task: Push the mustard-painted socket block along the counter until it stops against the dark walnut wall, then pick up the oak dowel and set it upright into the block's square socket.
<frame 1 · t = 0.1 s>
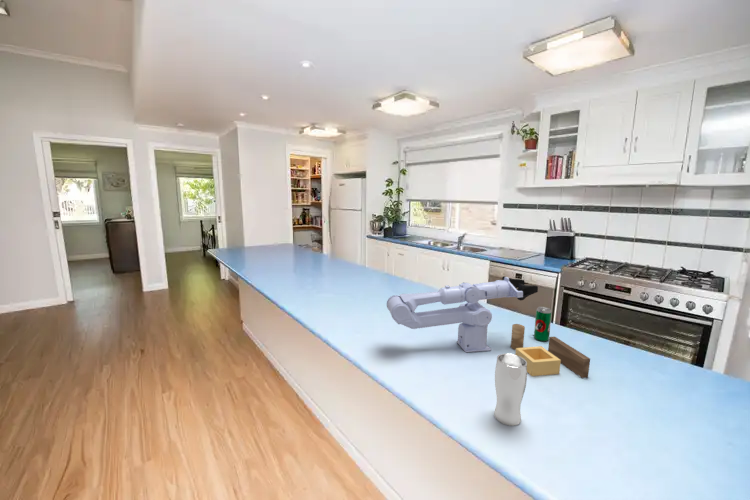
hand: (530, 285, 114), 22 cm above the worktop, tool horizontal, fingers open, 7 cm apart
socket block: (536, 360, 101), point 2 cm above the worktop, slide at 0.0 cm
soda can: (541, 339, 121), on the worktop
walnut wall: (566, 364, 103), on the worktop
beer glass: (507, 418, 79), on the worktop
dowel: (516, 347, 114), on the worktop
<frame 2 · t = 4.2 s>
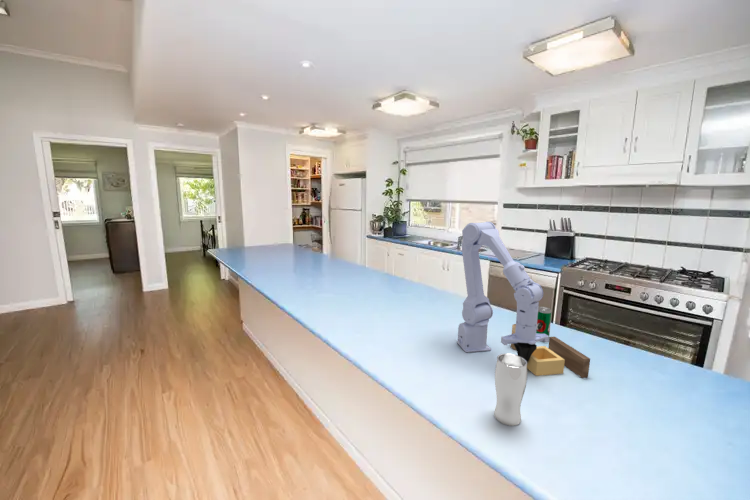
hand: (522, 364, 100), 1 cm above the worktop, tool pointing down, fingers closed
socket block: (540, 360, 101), point 2 cm above the worktop, slide at 1.3 cm, touching gripper
everything else where it was.
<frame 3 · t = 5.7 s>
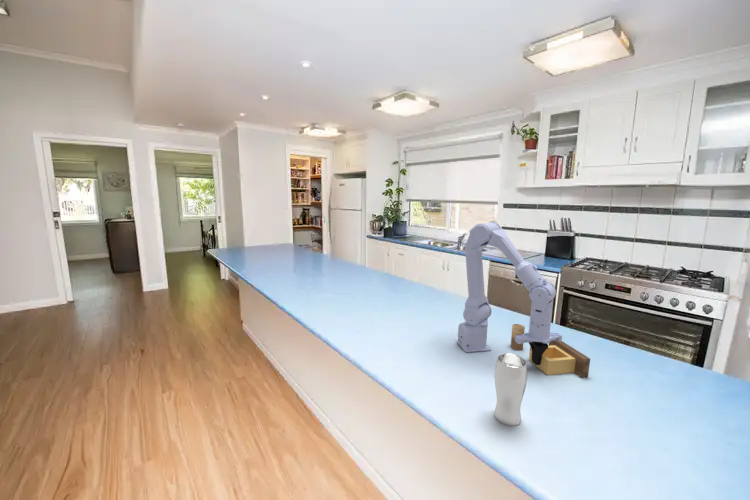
hand: (536, 363, 101), 1 cm above the worktop, tool pointing down, fingers closed, pressing on socket block
socket block: (551, 359, 101), point 2 cm above the worktop, slide at 5.0 cm, touching gripper, walnut wall
everything else where it was.
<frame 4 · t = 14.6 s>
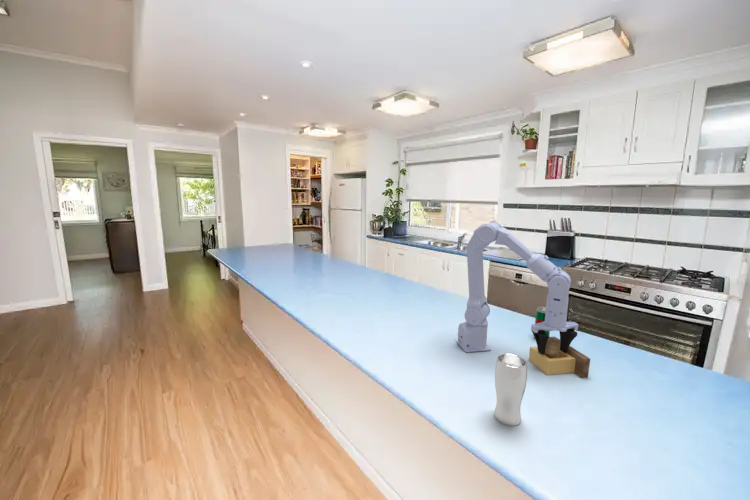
hand: (552, 352, 101), 5 cm above the worktop, tool pointing down, fingers open, 7 cm apart
socket block: (551, 359, 101), point 2 cm above the worktop, slide at 5.0 cm, touching dowel
dowel: (550, 364, 102), point 1 cm above the worktop, touching socket block
everything else where it was.
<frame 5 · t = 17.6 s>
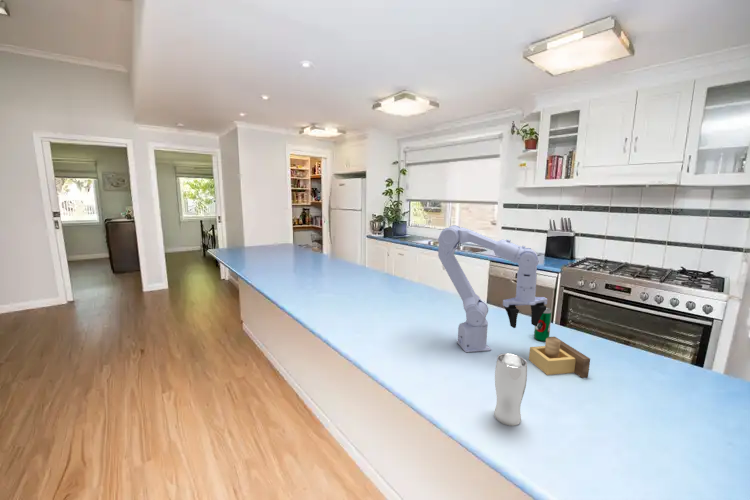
hand: (523, 325, 107), 10 cm above the worktop, tool pointing down, fingers open, 7 cm apart
nothing on the worktop moved.
at the end: socket block slide at 5.0 cm; dowel 0.0 cm from the target spot, point 0.6 cm above the worktop; dowel tilted 0° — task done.
